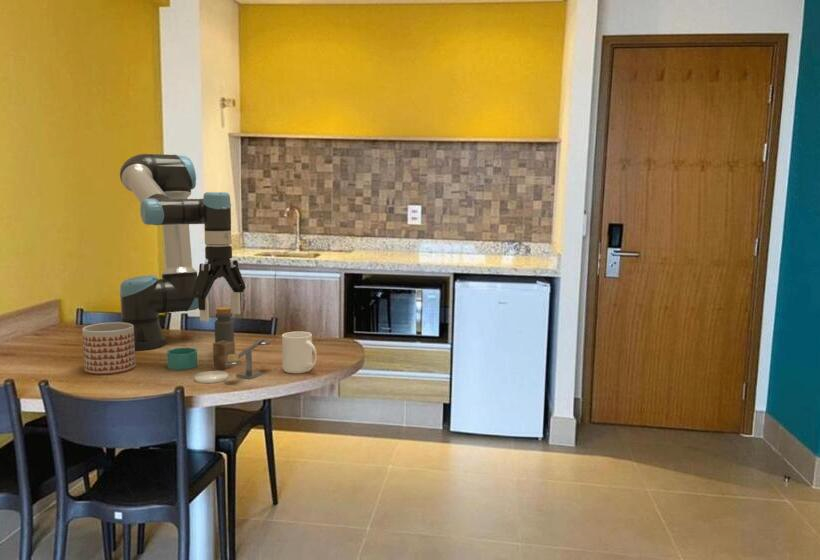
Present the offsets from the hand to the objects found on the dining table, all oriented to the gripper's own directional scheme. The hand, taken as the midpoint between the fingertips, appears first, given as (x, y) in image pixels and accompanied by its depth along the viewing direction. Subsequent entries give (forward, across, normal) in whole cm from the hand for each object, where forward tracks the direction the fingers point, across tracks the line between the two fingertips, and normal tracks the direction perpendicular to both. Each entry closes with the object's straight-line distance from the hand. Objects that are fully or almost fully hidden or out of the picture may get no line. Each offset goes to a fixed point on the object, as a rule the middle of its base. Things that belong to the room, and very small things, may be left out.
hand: (220, 317), depth 195 cm
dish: (+15, -11, -5) cm, 19 cm away
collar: (+15, -4, +12) cm, 20 cm away
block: (+15, +1, 0) cm, 15 cm away
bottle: (+15, +14, +11) cm, 23 cm away
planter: (+15, -16, +28) cm, 36 cm away
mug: (+16, +8, -23) cm, 29 cm away
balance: (+15, -4, -13) cm, 20 cm away
